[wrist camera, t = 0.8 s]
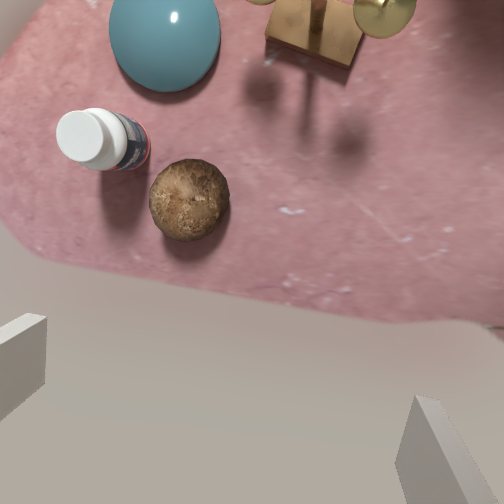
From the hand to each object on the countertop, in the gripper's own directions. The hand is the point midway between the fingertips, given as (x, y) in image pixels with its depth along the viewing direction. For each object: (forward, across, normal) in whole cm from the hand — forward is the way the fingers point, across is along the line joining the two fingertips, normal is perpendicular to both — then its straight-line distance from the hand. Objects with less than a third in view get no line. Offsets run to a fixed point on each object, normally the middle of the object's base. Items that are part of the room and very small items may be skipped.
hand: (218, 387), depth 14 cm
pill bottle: (+27, -16, +7) cm, 33 cm away
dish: (+27, -13, +18) cm, 35 cm away
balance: (+27, 0, +20) cm, 34 cm away
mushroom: (+27, -8, +3) cm, 29 cm away
